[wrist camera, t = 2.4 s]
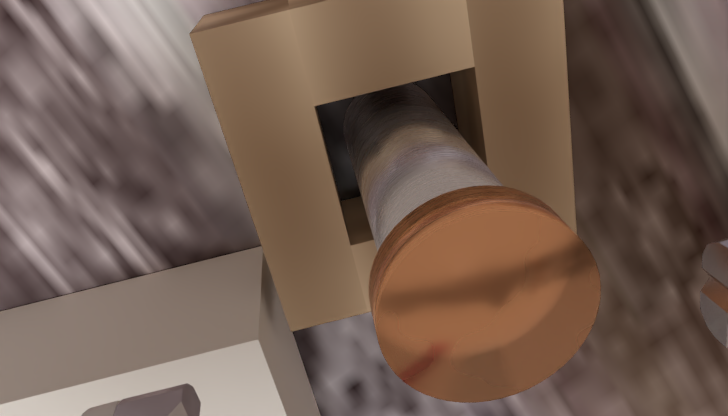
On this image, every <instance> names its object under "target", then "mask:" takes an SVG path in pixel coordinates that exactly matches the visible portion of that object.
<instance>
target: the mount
mask: <svg viewBox="0 0 728 416" xmlns="http://www.w3.org/2000/svg"><path fill="white" fill-rule="evenodd" d="M190 37H191V40H192V43H193V46H194V49H195V52H196V55H197V58H198V61H199V63H200V66H201V69H202V72H203V75H204V78H205V81H206V84H207V87H208V90H209V93H210V96H211V99H212V102H213V105H214V108H215V111H216V113H217V116H218V119H219V122H220V125H221V128H222V131H223V134H224V137H225V140H226V143H227V146H228V149H229V152H230V155H231V158H232V160H233V163H234V166H235V169H236V172H237V175H238V178H239V181H240V184H241V187H242V190H243V193H244V196H245V199H246V202H247V205H248V208H249V210H250V213H251V216H252V219H253V222H254V225H255V228H256V231H257V234H258V237H259V240H260V243H261V246H262V249H263V252H264V255H265V257H266V260H267V263H268V266H269V269H270V272H271V275H272V278H273V281H274V284H275V287H276V290H277V293H278V296H279V299H280V302H281V305H282V307H283V310H284V313H285V316H286V319H287V322H288V325H289V328H290V331H291V332H292V331H296V330H300V329H304V328H308V327H312V326H316V325H320V324H324V323H328V322H332V321H336V320H340V319H344V318H348V317H352V316H356V315H360V314H364V313H367V312H371V307H370V301H369V278H370V272H371V268H372V265H373V261H374V259H375V257H376V254H377V248H376V245H375V241H374V238H373V235H372V231H371V228H370V224H369V221H368V217H367V214H366V210H365V207H364V204H363V200H362V197H361V196H360V197H356V198H352V199H348V200H344V201H341V199H340V195H339V191H338V187H337V184H336V180H335V176H334V172H333V168H332V164H331V160H330V157H329V153H328V149H327V145H326V141H325V137H324V133H323V129H322V126H321V122H320V118H319V114H318V110H317V105H322V104H326V103H330V102H334V101H338V100H342V99H346V98H350V97H354V96H358V95H362V94H366V93H370V92H374V91H378V90H382V89H386V88H390V87H395V86H399V85H403V84H407V83H411V82H415V81H419V80H423V79H427V78H431V77H435V76H439V75H443V74H447V73H450V77H451V84H452V90H453V97H454V104H455V110H456V117H457V124H458V131H459V133H460V134H461V135H462V137H463V138H464V139H465V140H466V141H467V143H468V144H469V145H470V146H471V147H472V149H473V150H474V151H475V152H476V154H477V155H478V156H479V157H480V158H481V160H482V161H483V162H484V163H485V164H486V166H487V167H488V168H489V169H490V170H491V172H492V173H493V174H494V175H495V176H496V178H497V179H498V180H499V181H500V182H501V184H502V185H503V186H504V187H509V188H514V189H518V190H521V191H523V192H526V193H529V194H531V195H533V196H535V197H537V198H539V199H540V200H542V201H543V202H544V203H546V204H547V205H548V206H550V207H551V208H552V209H553V210H554V211H555V212H556V213H557V214H558V215H559V216H560V217H561V219H562V220H563V221H564V222H565V223H566V224H567V225H568V226H569V227H570V228H571V229H572V230H573V231H574V233H575V234H576V235H577V230H576V213H575V196H574V178H573V161H572V144H571V127H570V109H569V92H568V75H567V58H566V40H565V23H564V6H563V0H265V1H261V2H257V3H253V4H249V5H245V6H241V7H237V8H232V9H228V10H224V11H220V12H216V13H212V14H208V15H204V16H203V17H202V19H201V20H200V21H199V23H198V24H197V25H196V26H195V28H194V29H193V30H192V31H191V33H190Z"/></svg>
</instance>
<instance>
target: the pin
mask: <svg viewBox="0 0 728 416" xmlns="http://www.w3.org/2000/svg"><path fill="white" fill-rule="evenodd" d="M343 132H344V138H345V142H346V145H347V148H348V152H349V155H350V159H351V162H352V166H353V169H354V173H355V176H356V179H357V183H358V186H359V190H360V193H361V197H362V200H363V204H364V207H365V210H366V214H367V217H368V221H369V224H370V228H371V231H372V235H373V238H374V241H375V245H376V248H377V254H376V257H375V259H374V261H373V265H372V268H371V272H370V278H369V301H370V307H371V312H372V316H373V320H374V325H375V329H376V333H377V338H378V342H379V345H380V348H381V351H382V354H383V356H384V358H385V360H386V361H387V363H388V365H389V366H390V367H391V369H392V370H393V371H394V373H395V374H396V375H397V376H398V377H399V378H400V379H402V380H403V381H404V382H405V383H406V384H408V385H409V386H411V387H412V388H414V389H416V390H418V391H419V392H421V393H423V394H426V395H429V396H431V397H434V398H437V399H442V400H446V401H453V402H484V401H491V400H496V399H501V398H504V397H508V396H511V395H514V394H517V393H519V392H522V391H524V390H527V389H529V388H531V387H533V386H535V385H536V384H538V383H540V382H542V381H543V380H545V379H546V378H548V377H549V376H551V375H552V374H554V373H555V372H556V371H557V370H559V369H560V368H561V367H562V366H563V365H564V364H565V363H566V362H567V361H568V360H569V359H570V358H571V357H572V356H573V355H574V354H575V353H576V352H577V350H578V349H579V348H580V347H581V345H582V344H583V342H584V341H585V339H586V338H587V336H588V334H589V332H590V330H591V328H592V326H593V324H594V322H595V319H596V316H597V313H598V309H599V304H600V296H601V284H600V275H599V272H598V268H597V265H596V262H595V260H594V258H593V256H592V254H591V252H590V250H589V249H588V248H587V246H586V245H585V244H584V242H583V241H582V240H581V239H580V238H579V237H578V236H577V235H576V234H575V233H574V231H573V230H572V229H571V228H570V227H569V226H568V225H567V224H566V223H565V222H564V221H563V220H562V219H561V217H560V216H559V215H558V214H557V213H556V212H555V211H554V210H553V209H552V208H551V207H550V206H548V205H547V204H546V203H544V202H543V201H542V200H540V199H539V198H537V197H535V196H533V195H531V194H529V193H526V192H523V191H521V190H518V189H514V188H509V187H504V186H503V185H502V184H501V182H500V181H499V180H498V179H497V178H496V176H495V175H494V174H493V173H492V172H491V170H490V169H489V168H488V167H487V166H486V164H485V163H484V162H483V161H482V160H481V158H480V157H479V156H478V155H477V154H476V152H475V151H474V150H473V149H472V147H471V146H470V145H469V144H468V143H467V141H466V140H465V139H464V138H463V137H462V135H461V134H460V133H459V132H458V131H457V129H456V128H455V127H454V126H453V125H452V123H451V122H450V121H449V120H448V119H447V117H446V116H445V115H444V114H443V113H442V111H441V110H440V109H439V108H438V107H437V105H436V104H435V103H434V102H433V101H432V99H431V98H430V97H429V96H428V94H427V93H426V92H425V91H424V90H423V89H421V88H420V87H418V86H417V85H415V84H413V83H407V84H403V85H399V86H395V87H390V88H386V89H382V90H378V91H374V92H370V93H366V94H362V95H358V96H355V97H354V99H353V100H352V101H351V103H350V105H349V106H348V108H347V111H346V114H345V117H344V124H343Z"/></svg>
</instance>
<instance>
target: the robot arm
mask: <svg viewBox="0 0 728 416" xmlns="http://www.w3.org/2000/svg"><path fill="white" fill-rule="evenodd" d="M702 268H703V269H704V270H705V271H706V272H707V273H708V275H709V276H710V278H709V279H708V280H707V282H706V283H705V285H704V286H703V288H702V289H701V291H700V309H701V312H702V314H703V317H704V320H705V323H706V325H707V327H708V328H709V329H710V331H711V332H712V334H713V335H714V337H715V338H716V339H718V340H719V341H720V342H721V343H722V344H723V345H724V346H725V347H726V348H728V239H724V240H720V241H717V242H713V243H709V244H707V246H706V248H705V250H704V252H703V255H702ZM200 407H201V402H200V400H199V398H198V395H197V393H196V391H195V389H194V387H193V386H191V385H190V384H188V383H186V384H182V385H178V386H174V387H170V388H166V389H162V390H158V391H154V392H150V393H146V394H142V395H138V396H133V397H129V398H125V399H122V400H120V401H114V402H111V403H107V404H103V405H99V406H95V407H91V408H89V409H87V410H86V411H85V412H84V413H83V414H82V415H81V416H200Z"/></svg>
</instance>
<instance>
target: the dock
mask: <svg viewBox="0 0 728 416" xmlns="http://www.w3.org/2000/svg"><path fill="white" fill-rule="evenodd" d="M186 383H188V384H190V385H191V386H193V387H194V389H195V391H196V393H197V395H198V398H199V400H200V402H201V407H200V416H321V415H320V412H319V409H318V406H317V403H316V400H315V397H314V394H313V391H312V388H311V385H310V382H309V380H308V377H307V374H306V371H305V368H304V365H303V362H302V359H301V356H300V353H299V350H298V347H297V344H296V341H295V338H294V335H293V332H291V331H290V328H289V325H288V322H287V319H286V316H285V313H284V310H283V307H282V305H281V302H280V299H279V296H278V293H277V290H276V287H275V284H274V281H273V278H272V275H271V272H270V269H269V266H268V263H267V260H266V257H265V255H264V252H263V249H262V246H260V247H256V248H252V249H248V250H244V251H240V252H236V253H232V254H228V255H224V256H220V257H216V258H212V259H208V260H204V261H200V262H196V263H192V264H188V265H184V266H180V267H176V268H172V269H168V270H164V271H160V272H156V273H152V274H148V275H144V276H140V277H136V278H132V279H128V280H124V281H120V282H116V283H112V284H108V285H104V286H100V287H96V288H92V289H88V290H84V291H80V292H76V293H72V294H68V295H64V296H60V297H56V298H52V299H48V300H44V301H40V302H36V303H32V304H28V305H24V306H20V307H16V308H12V309H8V310H4V311H0V416H81V415H82V414H83V413H84V412H85V411H86V410H87V409H89V408H91V407H95V406H99V405H103V404H107V403H111V402H114V401H120V400H122V399H125V398H129V397H133V396H138V395H142V394H146V393H150V392H154V391H158V390H162V389H166V388H170V387H174V386H178V385H182V384H186Z"/></svg>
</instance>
